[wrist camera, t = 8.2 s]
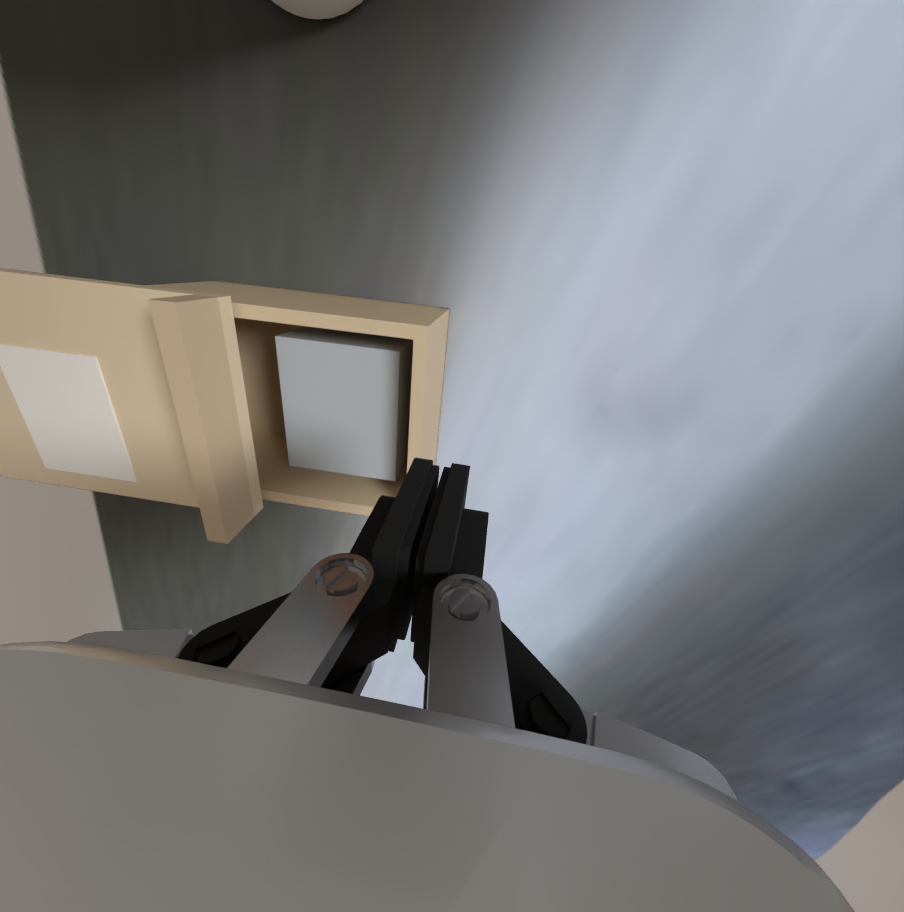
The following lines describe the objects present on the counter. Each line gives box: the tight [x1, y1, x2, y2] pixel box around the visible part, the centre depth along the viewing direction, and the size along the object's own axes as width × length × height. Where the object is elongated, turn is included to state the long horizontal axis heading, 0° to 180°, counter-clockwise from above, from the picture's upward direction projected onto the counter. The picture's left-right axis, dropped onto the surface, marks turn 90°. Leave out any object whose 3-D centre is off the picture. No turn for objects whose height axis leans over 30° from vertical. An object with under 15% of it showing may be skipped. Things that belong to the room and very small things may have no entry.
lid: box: [0, 268, 263, 544], centre depth 17 cm, size 14×11×3 cm
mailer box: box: [144, 281, 450, 516], centre depth 22 cm, size 14×10×7 cm
